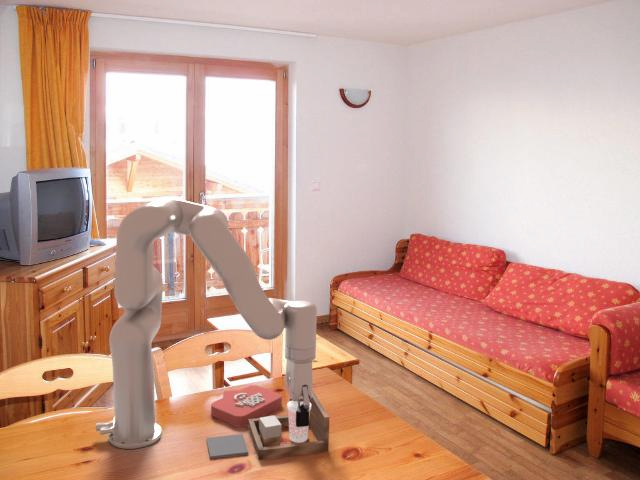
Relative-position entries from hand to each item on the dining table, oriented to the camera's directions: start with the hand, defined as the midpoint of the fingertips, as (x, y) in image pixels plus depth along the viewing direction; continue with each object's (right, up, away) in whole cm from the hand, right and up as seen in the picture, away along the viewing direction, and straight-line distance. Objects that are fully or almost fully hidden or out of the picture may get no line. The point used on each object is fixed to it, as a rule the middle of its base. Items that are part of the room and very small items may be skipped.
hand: (298, 419), depth 152 cm
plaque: (-16, -3, +17) cm, 23 cm away
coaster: (-17, -6, -4) cm, 19 cm away
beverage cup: (0, -5, +1) cm, 5 cm away
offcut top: (-7, -3, -2) cm, 8 cm away
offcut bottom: (-7, -6, -2) cm, 9 cm away
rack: (-3, -5, 0) cm, 6 cm away
